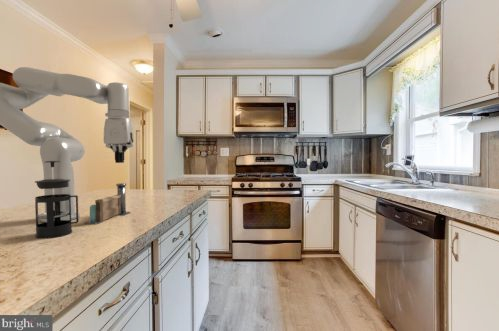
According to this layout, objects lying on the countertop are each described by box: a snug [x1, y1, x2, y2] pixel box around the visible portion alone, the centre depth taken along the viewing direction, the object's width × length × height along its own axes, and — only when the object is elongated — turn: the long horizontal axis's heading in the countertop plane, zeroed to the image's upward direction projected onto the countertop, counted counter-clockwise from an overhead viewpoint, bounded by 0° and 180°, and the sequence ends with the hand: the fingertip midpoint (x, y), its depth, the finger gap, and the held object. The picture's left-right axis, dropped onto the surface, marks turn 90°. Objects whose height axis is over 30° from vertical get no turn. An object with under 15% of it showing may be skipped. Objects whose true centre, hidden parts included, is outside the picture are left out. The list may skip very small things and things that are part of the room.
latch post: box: [84, 204, 104, 225], centre depth 98 cm, size 4×4×7 cm
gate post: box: [115, 182, 131, 216], centre depth 113 cm, size 5×5×13 cm
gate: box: [94, 194, 121, 223], centre depth 104 cm, size 14×2×8 cm, turn 177°
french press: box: [34, 161, 80, 240], centre depth 84 cm, size 12×9×23 cm
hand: (119, 162), depth 106 cm, fingers closed
